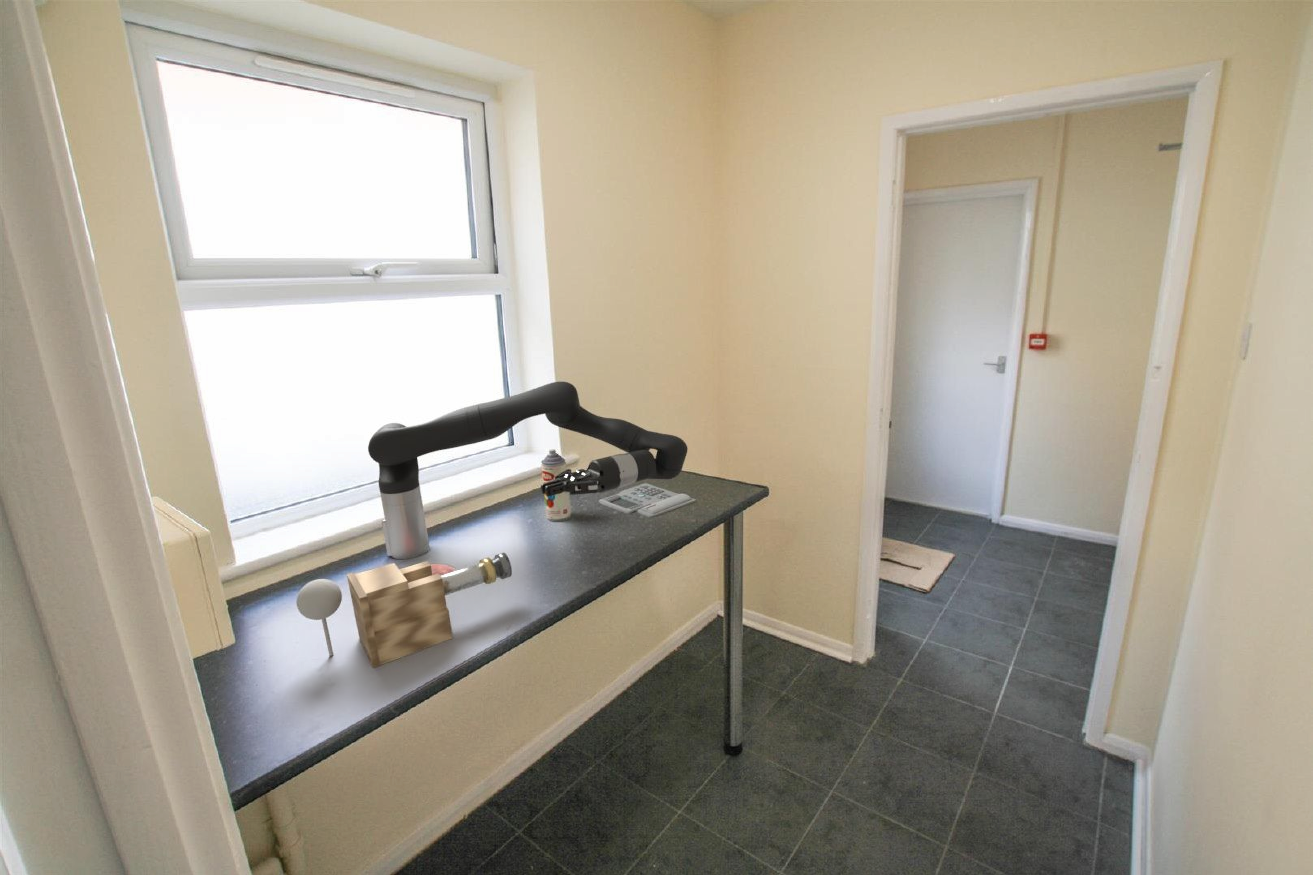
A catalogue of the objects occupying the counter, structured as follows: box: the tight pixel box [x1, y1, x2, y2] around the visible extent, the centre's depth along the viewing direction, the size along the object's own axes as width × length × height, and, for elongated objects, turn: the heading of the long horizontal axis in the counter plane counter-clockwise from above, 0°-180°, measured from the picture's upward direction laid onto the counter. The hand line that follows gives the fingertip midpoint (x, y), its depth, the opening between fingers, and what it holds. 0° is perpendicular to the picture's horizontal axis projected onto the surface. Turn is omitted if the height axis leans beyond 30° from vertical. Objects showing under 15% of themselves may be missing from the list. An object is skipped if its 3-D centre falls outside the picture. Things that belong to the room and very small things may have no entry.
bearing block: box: [346, 560, 454, 668], centre depth 114 cm, size 14×12×14 cm
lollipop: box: [296, 578, 343, 657], centre depth 110 cm, size 7×7×15 cm
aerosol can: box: [540, 448, 572, 523], centre depth 171 cm, size 7×7×20 cm
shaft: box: [440, 552, 513, 596], centre depth 121 cm, size 17×5×5 cm, turn 126°
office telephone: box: [598, 482, 697, 518], centre depth 182 cm, size 23×3×20 cm
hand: (544, 490), depth 128 cm, fingers closed
